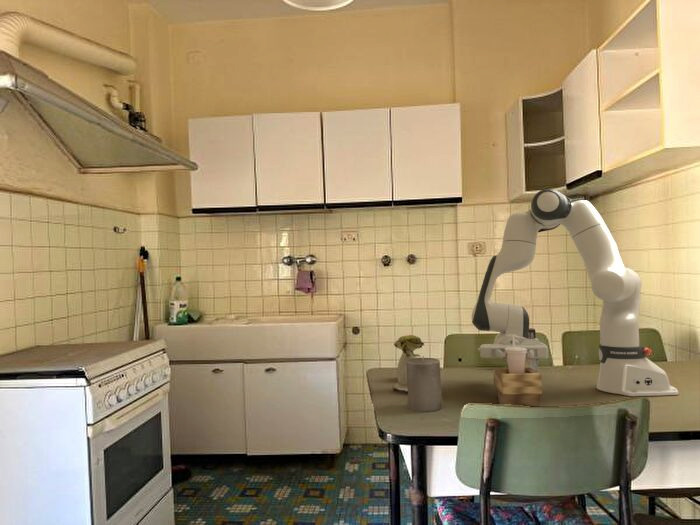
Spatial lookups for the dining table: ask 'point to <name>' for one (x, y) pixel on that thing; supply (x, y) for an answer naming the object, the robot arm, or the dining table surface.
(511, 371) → the smoothie
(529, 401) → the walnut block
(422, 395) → the pillar candle
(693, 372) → the dining table surface
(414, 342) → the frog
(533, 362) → the coffee box
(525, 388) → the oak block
